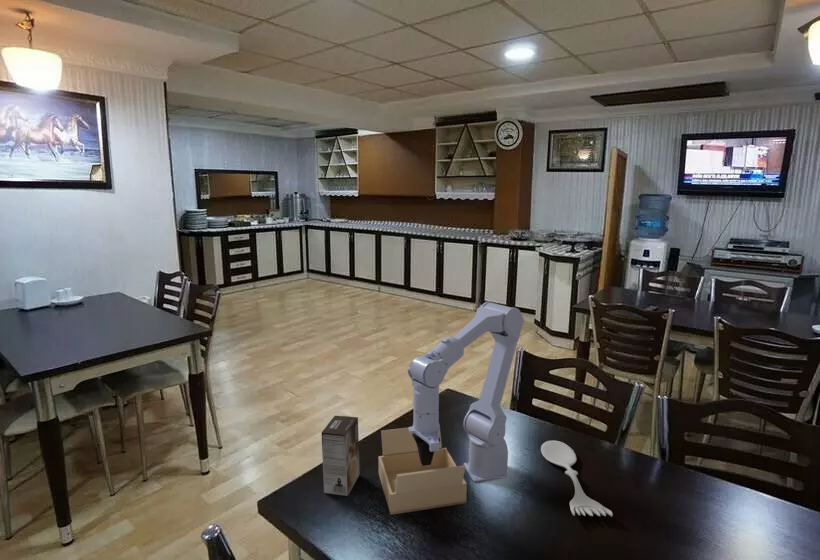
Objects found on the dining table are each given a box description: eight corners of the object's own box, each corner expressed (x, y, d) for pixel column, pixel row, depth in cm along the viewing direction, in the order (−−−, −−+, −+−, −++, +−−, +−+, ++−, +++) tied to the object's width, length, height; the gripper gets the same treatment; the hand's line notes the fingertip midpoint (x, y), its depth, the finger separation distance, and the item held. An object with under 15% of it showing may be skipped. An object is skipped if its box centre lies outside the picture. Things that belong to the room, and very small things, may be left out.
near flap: (395, 491, 105) (395, 493, 104) (396, 474, 102) (397, 476, 101) (461, 482, 108) (462, 484, 108) (464, 465, 105) (465, 467, 105)
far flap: (441, 447, 123) (441, 447, 123) (439, 424, 124) (439, 424, 125) (383, 455, 119) (382, 455, 120) (381, 430, 121) (381, 430, 121)
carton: (445, 465, 124) (445, 447, 123) (466, 503, 109) (466, 483, 108) (378, 474, 120) (378, 456, 119) (390, 514, 105) (390, 494, 104)
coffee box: (336, 471, 121) (334, 414, 119) (360, 474, 120) (358, 416, 117) (323, 493, 113) (320, 431, 110) (348, 497, 111) (346, 434, 108)
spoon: (571, 526, 102) (572, 511, 101) (536, 448, 133) (537, 436, 133) (613, 527, 102) (614, 512, 101) (568, 448, 133) (569, 437, 132)
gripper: (401, 397, 112) (402, 449, 114) (416, 426, 98) (416, 484, 101) (430, 394, 114) (429, 446, 116) (448, 422, 100) (448, 480, 102)
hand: (425, 463), depth 108 cm, fingers closed
